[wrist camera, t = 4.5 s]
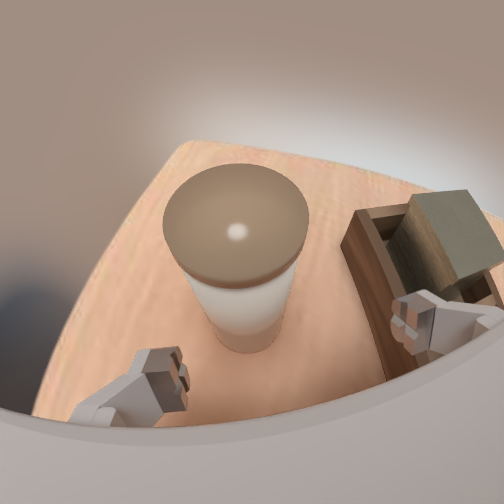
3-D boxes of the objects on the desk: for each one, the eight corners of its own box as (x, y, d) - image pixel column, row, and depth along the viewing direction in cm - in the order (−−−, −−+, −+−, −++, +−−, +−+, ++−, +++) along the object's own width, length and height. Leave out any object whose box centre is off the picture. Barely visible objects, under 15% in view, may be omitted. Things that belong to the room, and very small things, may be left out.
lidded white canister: (217, 360, 19) (164, 291, 8) (207, 295, 22) (163, 176, 11) (289, 346, 20) (329, 261, 9) (273, 283, 23) (286, 156, 12)
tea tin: (402, 323, 19) (458, 279, 12) (375, 255, 22) (412, 194, 16) (454, 302, 20) (507, 258, 13) (427, 244, 23) (466, 189, 16)
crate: (406, 470, 13) (441, 479, 9) (340, 246, 24) (355, 210, 20) (493, 411, 14) (529, 403, 10) (427, 229, 25) (448, 198, 21)
